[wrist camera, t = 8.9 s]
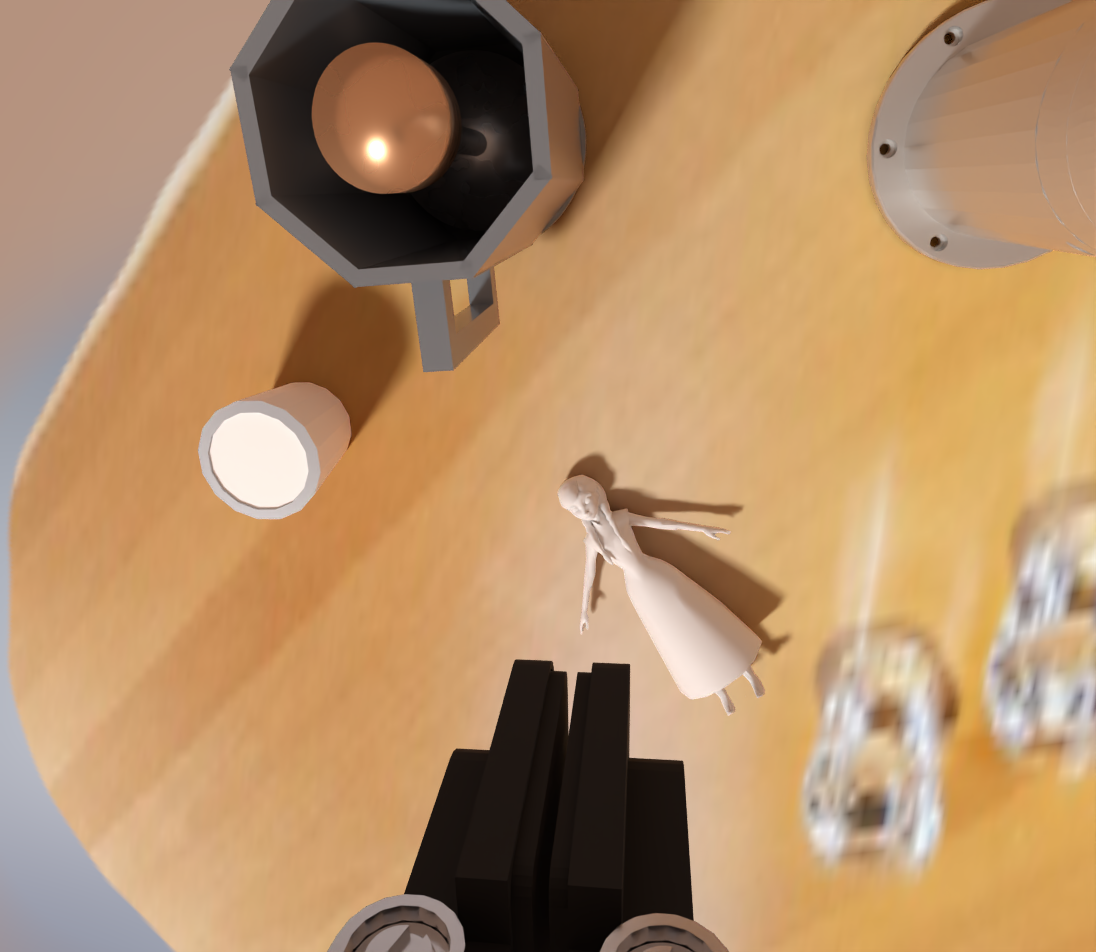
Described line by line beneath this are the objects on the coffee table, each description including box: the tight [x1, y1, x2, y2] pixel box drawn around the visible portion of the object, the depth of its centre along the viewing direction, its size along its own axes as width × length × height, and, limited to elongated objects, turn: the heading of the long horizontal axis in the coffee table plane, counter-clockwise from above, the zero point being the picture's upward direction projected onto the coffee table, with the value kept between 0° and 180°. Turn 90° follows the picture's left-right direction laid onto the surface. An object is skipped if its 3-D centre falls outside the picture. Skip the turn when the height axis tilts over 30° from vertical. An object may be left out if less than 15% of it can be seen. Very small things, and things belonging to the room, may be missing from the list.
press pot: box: [230, 0, 587, 372], centre depth 36 cm, size 11×14×18 cm
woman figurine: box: [558, 475, 765, 716], centre depth 50 cm, size 12×4×18 cm
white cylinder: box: [198, 382, 352, 519], centre depth 47 cm, size 7×7×7 cm
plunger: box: [312, 42, 533, 231], centre depth 34 cm, size 8×8×17 cm
